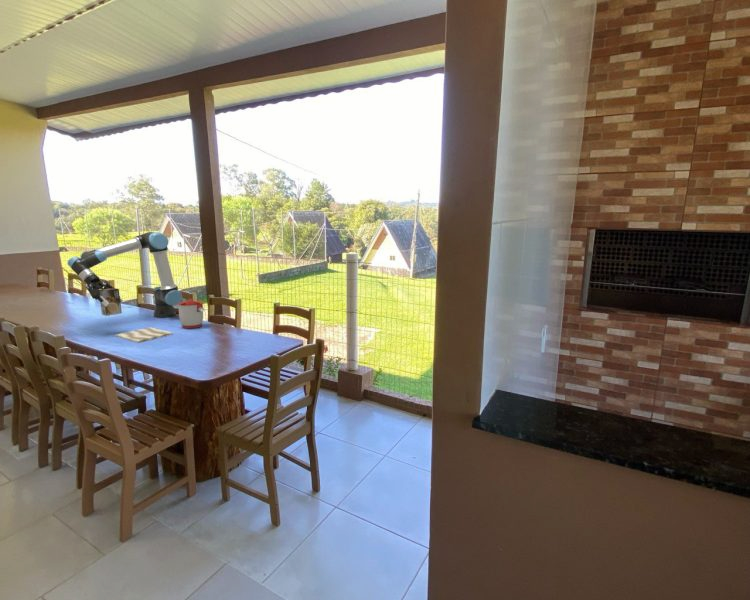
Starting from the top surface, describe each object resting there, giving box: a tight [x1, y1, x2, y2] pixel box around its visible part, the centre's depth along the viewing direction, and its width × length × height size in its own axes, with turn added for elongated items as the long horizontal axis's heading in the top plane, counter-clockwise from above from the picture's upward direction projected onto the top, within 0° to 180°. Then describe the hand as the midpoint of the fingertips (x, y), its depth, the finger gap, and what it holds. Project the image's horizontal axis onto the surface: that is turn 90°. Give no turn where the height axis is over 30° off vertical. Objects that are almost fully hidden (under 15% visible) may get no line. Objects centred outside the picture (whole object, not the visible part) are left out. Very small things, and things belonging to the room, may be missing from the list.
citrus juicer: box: [177, 298, 205, 329], centre depth 260 cm, size 16×17×20 cm
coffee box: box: [99, 287, 123, 317], centre depth 238 cm, size 9×6×16 cm
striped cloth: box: [115, 327, 174, 343], centre depth 239 cm, size 22×24×1 cm
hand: (114, 303), depth 237 cm, fingers closed on coffee box, 10 cm apart
